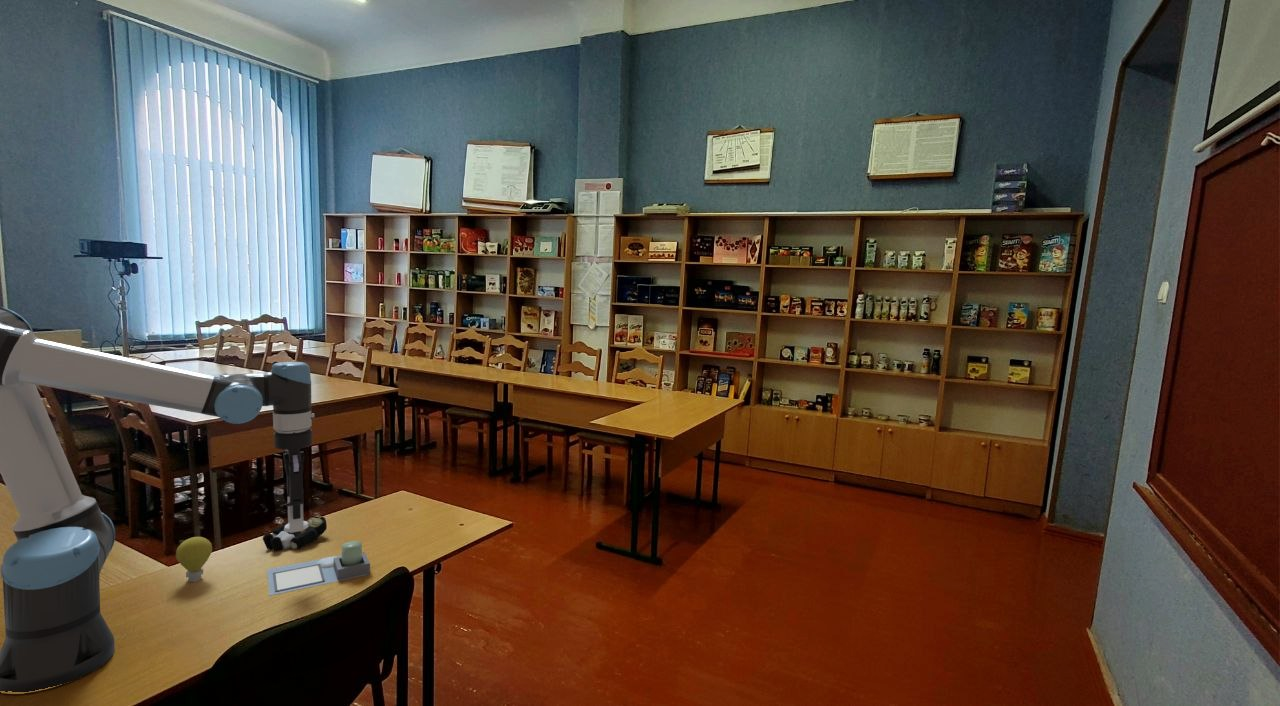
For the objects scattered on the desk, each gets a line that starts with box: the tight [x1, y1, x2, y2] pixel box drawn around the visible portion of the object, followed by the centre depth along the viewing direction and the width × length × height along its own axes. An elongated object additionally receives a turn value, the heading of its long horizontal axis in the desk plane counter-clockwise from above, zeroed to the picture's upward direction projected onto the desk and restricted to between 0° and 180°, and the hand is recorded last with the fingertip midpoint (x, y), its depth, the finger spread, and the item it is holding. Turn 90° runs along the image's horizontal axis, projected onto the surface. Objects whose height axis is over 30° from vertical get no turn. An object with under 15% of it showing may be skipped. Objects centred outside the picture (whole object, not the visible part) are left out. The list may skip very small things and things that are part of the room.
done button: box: [341, 540, 363, 566], centre depth 138 cm, size 4×4×4 cm
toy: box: [262, 516, 327, 553], centre depth 153 cm, size 12×8×15 cm
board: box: [266, 551, 371, 597], centre depth 137 cm, size 20×14×3 cm
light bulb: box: [175, 536, 213, 583], centre depth 131 cm, size 7×7×10 cm
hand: (295, 526), depth 132 cm, fingers closed on chess piece, 5 cm apart
